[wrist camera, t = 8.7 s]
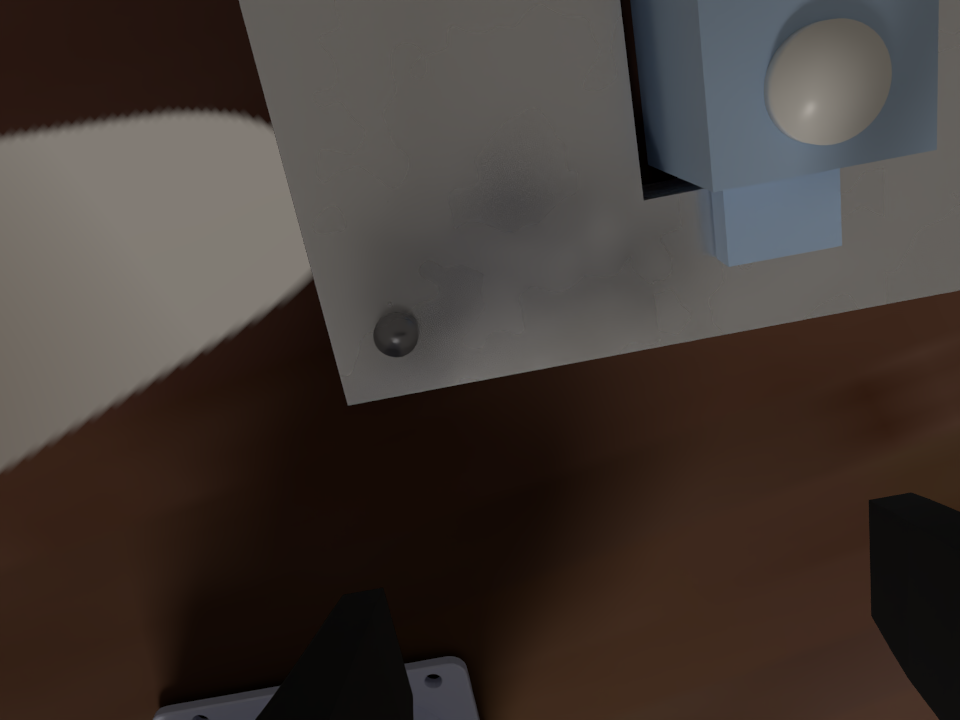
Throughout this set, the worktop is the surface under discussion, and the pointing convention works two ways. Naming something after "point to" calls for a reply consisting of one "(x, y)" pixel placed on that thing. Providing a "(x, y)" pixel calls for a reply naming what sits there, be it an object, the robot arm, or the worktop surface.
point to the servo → (783, 106)
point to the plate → (542, 195)
